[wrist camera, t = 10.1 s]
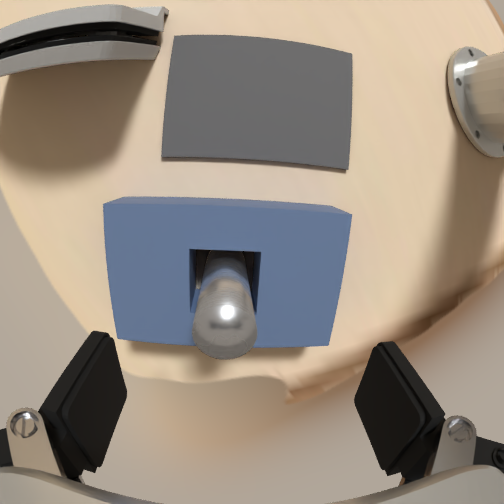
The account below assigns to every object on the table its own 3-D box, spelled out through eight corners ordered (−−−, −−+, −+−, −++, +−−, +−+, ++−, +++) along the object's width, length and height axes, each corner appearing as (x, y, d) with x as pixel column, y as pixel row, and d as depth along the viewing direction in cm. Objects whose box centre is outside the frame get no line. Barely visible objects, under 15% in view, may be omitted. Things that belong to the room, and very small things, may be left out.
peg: (246, 245, 22) (259, 306, 12) (243, 281, 23) (255, 359, 13) (206, 243, 22) (190, 304, 12) (206, 280, 23) (193, 358, 13)
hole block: (331, 205, 22) (352, 214, 18) (314, 320, 24) (328, 345, 21) (124, 196, 20) (103, 203, 16) (131, 313, 23) (117, 338, 19)
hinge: (174, 10, 16) (127, -21, 8) (163, 60, 19) (110, 58, 10) (24, 31, 14) (-46, 39, 6) (19, 72, 16) (-51, 93, 8)
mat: (350, 55, 18) (352, 53, 18) (346, 169, 21) (348, 169, 20) (175, 37, 17) (174, 35, 16) (162, 156, 19) (161, 156, 19)
